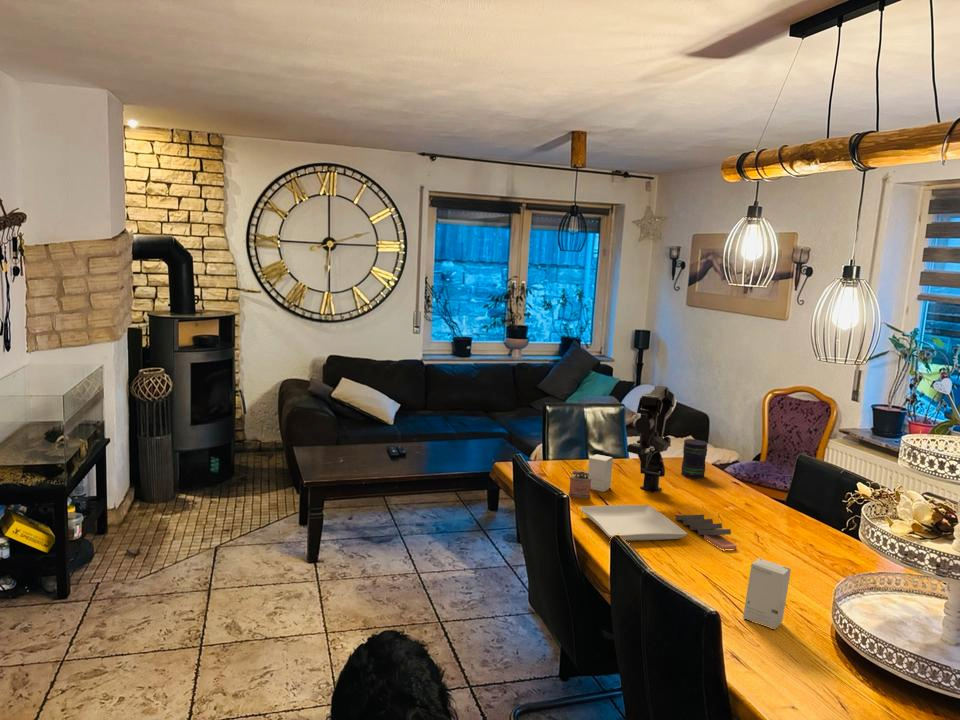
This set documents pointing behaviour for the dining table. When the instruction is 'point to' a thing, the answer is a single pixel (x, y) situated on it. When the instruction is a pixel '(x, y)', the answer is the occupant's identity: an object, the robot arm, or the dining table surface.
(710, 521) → the domino
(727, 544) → the domino
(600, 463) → the supplement box
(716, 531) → the domino
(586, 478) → the lighter
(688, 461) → the storage jar
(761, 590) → the skincare box
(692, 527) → the domino
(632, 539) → the square plate
